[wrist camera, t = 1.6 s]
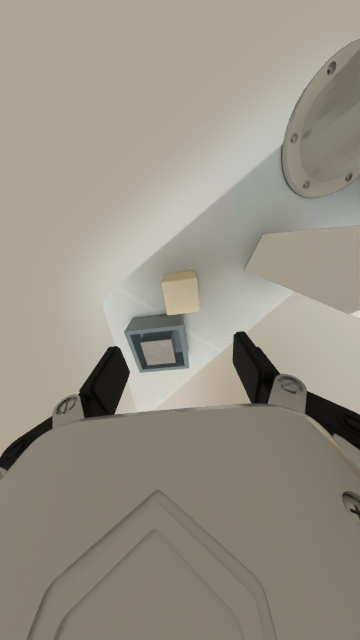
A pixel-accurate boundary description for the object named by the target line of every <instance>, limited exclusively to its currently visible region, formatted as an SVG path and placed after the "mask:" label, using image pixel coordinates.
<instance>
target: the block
mask: <svg viewBox="0 0 360 640" xmlns="http://www.w3.org/2000/svg"><path fill="white" fill-rule="evenodd" d="M140 344H141V347H142V350H143V353H144V356H145V359H146V362H147V365H156V364H166V363H176V342H175V337H174V331H173V330H169V331H160V332H151V333H144V334H143V337H142V339H141V342H140Z"/></svg>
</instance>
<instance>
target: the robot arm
mask: <svg viewBox="0 0 360 640" xmlns="http://www.w3.org/2000/svg"><path fill="white" fill-rule="evenodd" d="M282 163H283V171H284V174H285V178H286V180H287V182H288V184H289V186H290V187H291V188H292V189H293V190H294V191H295V192H296V193H297V194H299V195H301V196H304V197H309V198H315V197H321V196H325V195H328V194H331V193H334V192H336V191H338V190H340V189H342V188H344V187H345V186H347V185H348V184H350V183H351V182H352V181H353V180H355V179H356V178H357V177H358V176H359V175H360V39H359V40H357V41H354V42H351V43H350V44H348V45H347V46H345V47H344V48H342V49H341V50H339V51H338V52H337V53H336V54H335V55H334V56H332V58H330V59H329V60H328V61H327V62H326V63H325V64H324V65H323V67H322V68H321V69H320V70H319V71H318V72H317V74H316V75H315V76H314V78H313V79H312V80H311V81H310V83H309V84H308V86H307V87H306V88H305V90H304V91H303V93H302V95H301V97H300V98H299V100H298V102H297V104H296V105H295V108H294V110H293V112H292V115H291V117H290V119H289V122H288V126H287V129H286V133H285V137H284V142H283V150H282ZM233 364H234V366H235V369H236V371H237V373H238V375H239V377H240V379H241V382H242V384H243V386H244V388H245V390H246V393H247V395H248V397H249V399H250V401H251V403H252V404H234V405H220V406H207V407H196V408H183V409H171V410H160V411H148V412H137V413H127V414H116V415H114V414H115V411H116V408H117V406H118V403H119V401H120V398H121V395H122V393H123V390H124V388H125V385H126V382H127V380H128V377H129V374H130V371H129V368H128V366H127V364H126V361H125V359H124V357H123V354H122V352H121V350H120V348H118V347H117V346H114V347H109V348H108V349H107V351H106V352H105V354H104V355H103V357H102V358H101V360H100V361H99V363H98V364H97V365H96V367H95V368H94V370H93V371H92V373H91V374H90V376H89V377H88V379H87V380H86V382H85V383H84V384H83V386H82V387H81V389H80V393H79V394H78V395H77V394H74V395H70V396H68V397H66V398H64V399H63V400H62V401H60V403H58V404H57V406H56V407H55V408H54V410H53V416H51V417H50V418H48V419H47V420H45V421H44V422H42V423H41V424H39V425H38V426H36V427H35V428H33V429H32V430H30V431H29V432H27V433H26V434H24V435H23V436H21V437H20V438H18V439H17V440H16V441H14V442H13V443H12V444H11V445H10V446H9V447H8V448H7V449H6V450H5V451H4V452H3V454H2V456H1V457H0V640H360V415H359V414H357V413H355V412H353V411H351V410H349V409H347V408H344V407H342V406H340V405H337V404H335V403H333V402H331V401H328V400H326V399H324V398H322V397H319V396H317V395H315V394H313V393H310V392H308V391H307V389H306V387H305V385H304V384H303V383H302V382H301V381H300V380H299V379H297V378H295V377H293V376H291V375H287V374H280V373H279V372H278V370H277V369H276V368H275V367H274V365H273V364H272V363H271V362H270V360H269V359H268V358H267V356H266V355H265V354H264V353H263V351H262V350H261V349H260V348H259V347H256V346H255V345H254V343H253V342H252V341H251V340H250V338H249V337H248V336H247V334H246V333H245V332H244V331H243V332H237V333H236V334H234V342H233Z"/></svg>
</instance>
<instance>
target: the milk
mask: <svg viewBox="0 0 360 640" xmlns="http://www.w3.org/2000/svg"><path fill="white" fill-rule="evenodd" d="M245 270H247V271H249V272H251V273H254V274H256V275H258V276H261V277H263V278H265V279H268V280H270V281H272V282H275V283H277V284H279V285H282V286H284V287H286V288H289V289H291V290H293V291H296V292H298V293H300V294H303V295H305V296H307V297H310V298H312V299H314V300H317V301H319V302H321V303H324V304H326V305H328V306H331V307H333V308H335V309H338V310H340V311H342V312H344V313H347V314H349V315H352V316H355V317H357V318H360V225H355V226H345V227H334V228H324V229H314V230H303V231H293V232H282V233H272V234H263V236H262V237H261V239H260V241H259V243H258V245H257V247H256V249H255V251H254V252H253V254H252V256H251V258H250V260H249V262H248V264H247V266H246V268H245Z"/></svg>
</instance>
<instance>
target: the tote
mask: <svg viewBox="0 0 360 640" xmlns="http://www.w3.org/2000/svg"><path fill="white" fill-rule="evenodd" d="M169 330H173V331H174V337H175V342H176V363H166V364H156V365H147V362H146V359H145V356H144V353H143V350H142V347H141V344H140V342H141V339H142V337H143V334H144V333H151V332H160V331H169ZM124 333H125V335H126V338H127V340H128V343H129V346H130V348H131V351H132V353H133V356H134V358H135V361H136V364H137V366H138V369H139V371H140V373H142V372H153V371H163V370H174V369H185V368H189V362H188V349H187V342H186V335H185V328H184V321H183V314H176V315H167V314H163V315H155V316H146V317H138V318H133V319H132V320H131V322H130V324H129V325H128V327H127V328H126V330H125V331H124Z"/></svg>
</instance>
